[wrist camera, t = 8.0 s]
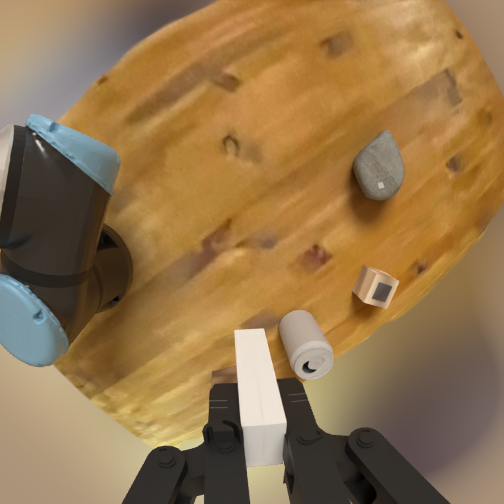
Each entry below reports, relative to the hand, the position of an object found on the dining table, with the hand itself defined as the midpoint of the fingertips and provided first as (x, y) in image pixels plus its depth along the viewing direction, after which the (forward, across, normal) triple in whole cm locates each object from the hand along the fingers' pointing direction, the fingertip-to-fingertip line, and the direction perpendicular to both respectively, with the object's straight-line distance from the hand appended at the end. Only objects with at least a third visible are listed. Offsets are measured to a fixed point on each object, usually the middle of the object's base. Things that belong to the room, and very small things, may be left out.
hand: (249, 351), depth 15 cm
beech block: (+31, +23, -9) cm, 39 cm away
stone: (+31, +23, +11) cm, 40 cm away
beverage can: (+31, +10, -16) cm, 36 cm away
